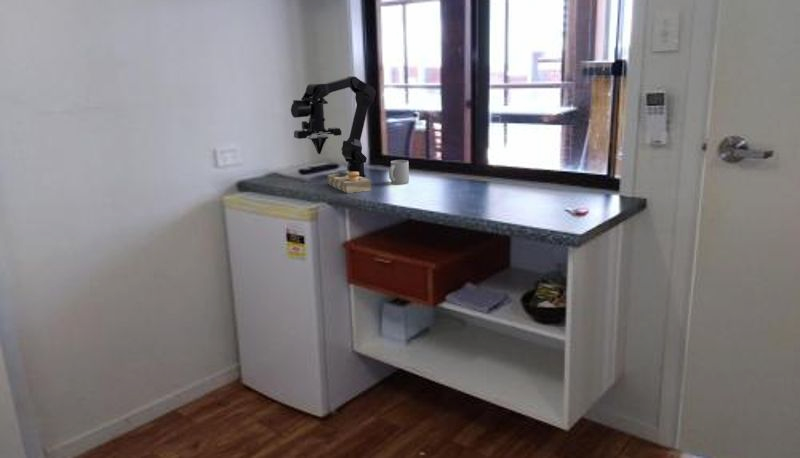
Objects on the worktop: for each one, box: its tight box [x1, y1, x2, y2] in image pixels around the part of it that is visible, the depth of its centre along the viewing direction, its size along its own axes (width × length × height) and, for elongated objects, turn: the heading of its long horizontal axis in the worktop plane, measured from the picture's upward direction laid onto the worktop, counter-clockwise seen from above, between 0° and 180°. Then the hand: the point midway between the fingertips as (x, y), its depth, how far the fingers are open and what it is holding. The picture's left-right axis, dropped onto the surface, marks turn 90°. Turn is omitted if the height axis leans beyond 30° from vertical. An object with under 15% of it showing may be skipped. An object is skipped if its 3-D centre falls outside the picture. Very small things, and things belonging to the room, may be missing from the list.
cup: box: [388, 159, 410, 186], centre depth 252 cm, size 7×10×9 cm
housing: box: [327, 173, 372, 194], centre depth 248 cm, size 20×10×4 cm, turn 27°
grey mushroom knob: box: [337, 169, 349, 177], centre depth 252 cm, size 5×5×6 cm
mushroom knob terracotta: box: [347, 172, 359, 181], centre depth 243 cm, size 5×5×6 cm
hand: (319, 154), depth 256 cm, fingers closed
